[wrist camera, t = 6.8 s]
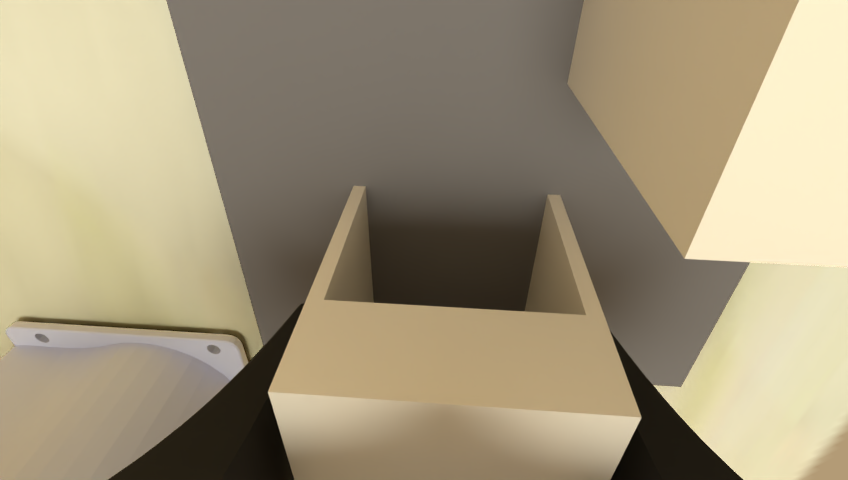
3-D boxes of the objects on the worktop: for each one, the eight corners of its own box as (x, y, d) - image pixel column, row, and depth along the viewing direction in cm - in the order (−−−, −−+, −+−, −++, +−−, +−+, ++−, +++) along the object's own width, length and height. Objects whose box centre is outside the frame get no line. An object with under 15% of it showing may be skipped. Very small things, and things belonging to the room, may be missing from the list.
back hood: (366, 328, 16) (314, 546, 11) (353, 185, 13) (267, 391, 7) (528, 338, 16) (566, 567, 10) (560, 195, 13) (641, 417, 7)
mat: (271, 349, 18) (267, 359, 18) (8, -635, 6) (-24, -674, 6) (675, 375, 17) (680, 386, 17) (1239, -686, 6) (1301, -735, 5)
